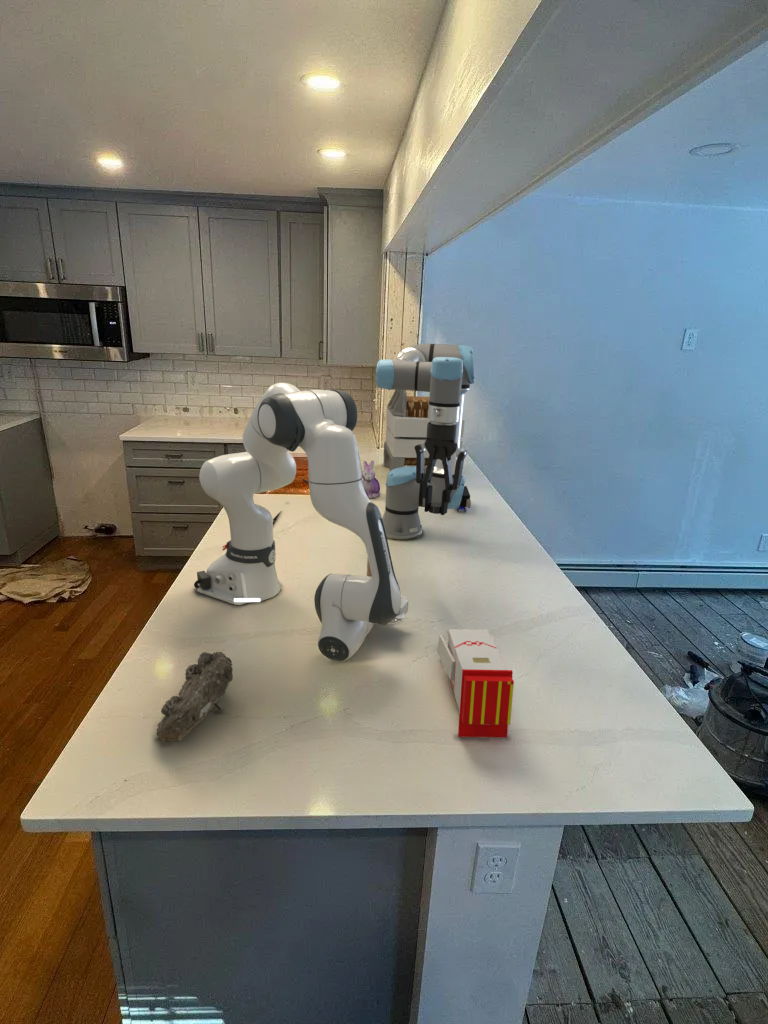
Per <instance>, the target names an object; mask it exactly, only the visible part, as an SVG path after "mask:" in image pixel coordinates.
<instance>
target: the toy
mask: <svg viewBox="0 0 768 1024" xmlns="http://www.w3.org/2000/svg"><path fill="white" fill-rule="evenodd" d="M446 640H447V643H446V641H445V639H444V636H443V635H442V634H439V637H438V646H437V656H438V657H439V659H440V661H441V663H442V666H443V668H444V670H445V672H446V674H447V677H448V679H449V681H450V684H451V687H452V690H453V693H454V697H455V701H456V705H457V708H458V711H459V714H458V715H459V716H458V730H457V731H458V732H457V737H458V738H508V731H509V726H510V725H511V717H512V707H513V697H514V696H513V695H514V684H515V680H514V679H513V673H514V671H513V670H512V669H508V667H507V665H506V662H505V661H504V659H503V658H502V655H501V653H500V651H499V649H498V647H497V643H496V639H495V637H494V635H493V634H491V632H490V631H489V629H467V628H466V629H465V628H463V629H461V628H460V629H459V628H448V630H447V639H446Z"/></svg>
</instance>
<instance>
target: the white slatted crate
mask: <svg viewBox="0 0 768 1024" xmlns="http://www.w3.org/2000/svg"><path fill="white" fill-rule="evenodd" d="M407 394H408V393H407V390H394V392H393V394H392V395H391V398H390V400H389V402H388V404H387V405H386V413H385V414H386V415H385V423H386V428H385V438H384V442H383V466H384V467H388V468H389V472H390V471H391V470H393V469H396V468H400V467H405V466H406V467H416V458H417V455H416V451H415V448H414V447H415V446H416V445H418V444H424V443H425V441H426V439H427V424H428V422H430V421H429V420H428V409H429V398H430V396H415V395H414V396H413V395H412V396H411V395H407ZM464 429H465V419H464V418H462V425H461V436H460V447H459V449H461V450H463V442H464V441H463V440H462V439H463V438H464V431H465V430H464ZM424 454H425V457H424V467H427V465H428V458H429V453H428V451H427V449H426V448H425V451H424Z"/></svg>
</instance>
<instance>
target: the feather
mask: <svg viewBox="0 0 768 1024" xmlns="http://www.w3.org/2000/svg"><path fill="white" fill-rule="evenodd" d="M281 512H282V510H280V512H279V513H277V514H276V516H275V517H273V526H274V525H275V523H276V521H277V520H278V518H279V516H280V514H281Z"/></svg>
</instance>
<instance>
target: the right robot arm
mask: <svg viewBox="0 0 768 1024" xmlns="http://www.w3.org/2000/svg"><path fill="white" fill-rule="evenodd" d="M474 352H475V351H474V349H473V347H471V346H469V345H463V344H443V343H427V342H426V343H425V342H424V343H419V344H415V345H411V346H408V347H405V348H403V349H402V350H400V351H399V352H398V354H397V356H396V357H395V359H391V358H388V359H379V360H378V361H377V364H376V368H375V384H376V387H377V388H378V389H383V390H386V391H387V390H388V391H391V390H392V391H395V390H406V391H410V392H411V391H413V392H425V393H429V397H430V398H429V409H428V420H429V421H430V422H428V424H427V439H426V441H425V443H424V444H418V445H416V446H415V447H414V448H415V451H416V455H417V458H416V466H404V467H400V468H396V469H393V470H391V471H390V470H389V471H388V473H387V475H386V482H385V504H384V505H385V507H384V508H385V509H384V513H383V515H382V520H383V523H384V528H385V532H386V536H387V539H389V540H395V541H410V540H415V539H418V538H420V537H421V536H422V535H423V525H422V524H421V518H420V515H419V508H420V507H421V508H424V509H423V510H424V511H423V512H424V513H429V511H428V506H429V503H431V502H439V503H442V504H441V514H440V516H445V515H446V514H447V513H448V510H457V508H458V507H459V505H460V502H461V498H462V494H463V490H464V486H465V484H466V477H465V476H464V475H463V469H464V463H465V459H466V457H467V455H468V450H463V449H462V450H461V449H459V447H460V439H461V438H460V436H461V425H462V419H463V414H464V413H463V412H464V403H465V394H466V393H467V392H468V391H470V388H471V385H473V384H475V382H476V381H475V379H476V378H475V353H474ZM425 448H426V449H427V451H428V453H429V458H428V465H427V466H426V468H425V466H424V457H425V454H424V451H425ZM302 482H303V483H305V484H307V485H309V480H306V479H305V478H302Z"/></svg>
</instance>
